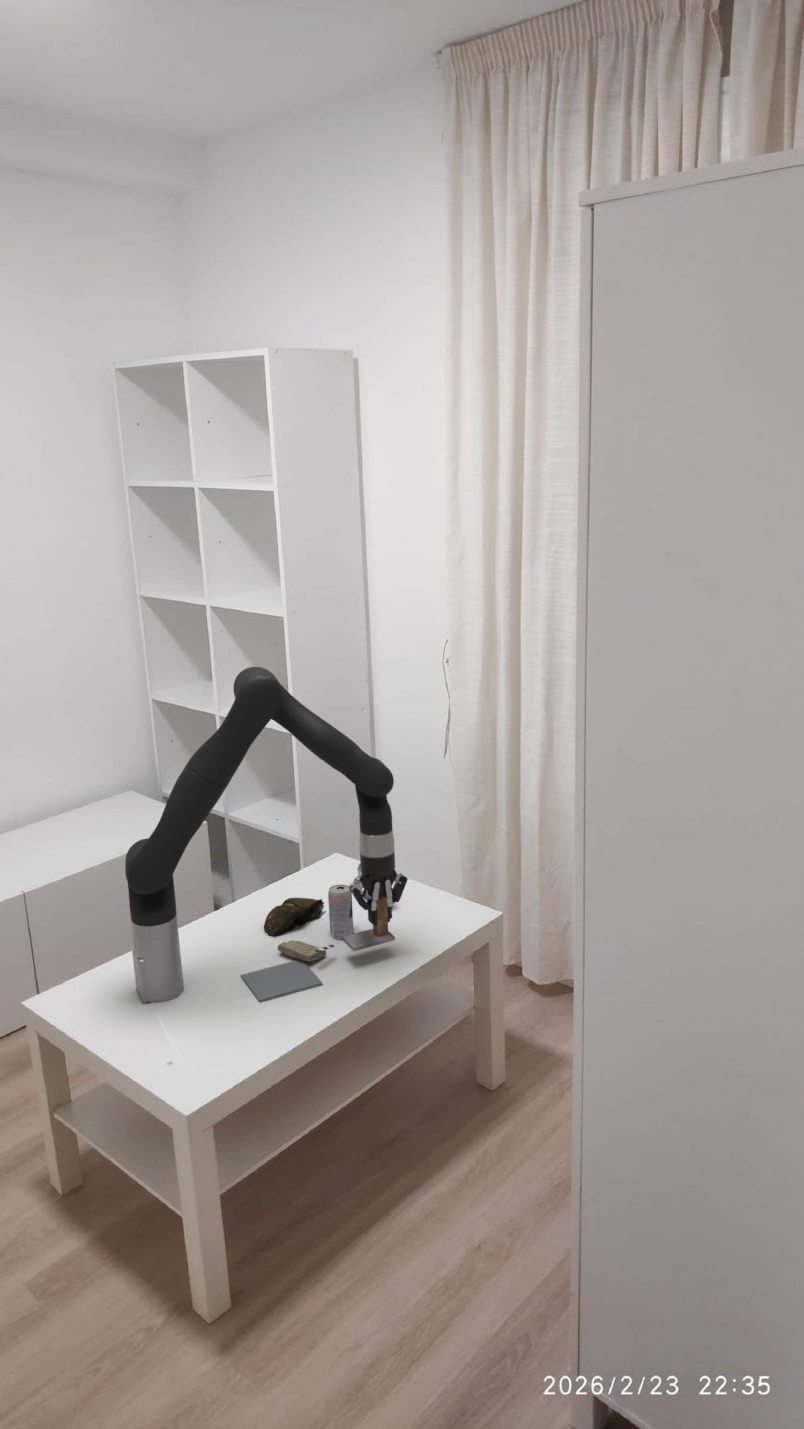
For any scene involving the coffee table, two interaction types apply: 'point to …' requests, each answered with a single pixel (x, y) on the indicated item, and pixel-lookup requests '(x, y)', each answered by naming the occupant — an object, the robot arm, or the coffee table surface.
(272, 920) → the seashell
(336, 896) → the energy drink
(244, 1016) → the coffee table surface
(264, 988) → the slate mat
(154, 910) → the robot arm
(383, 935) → the trowel
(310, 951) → the cuneiform tablet
